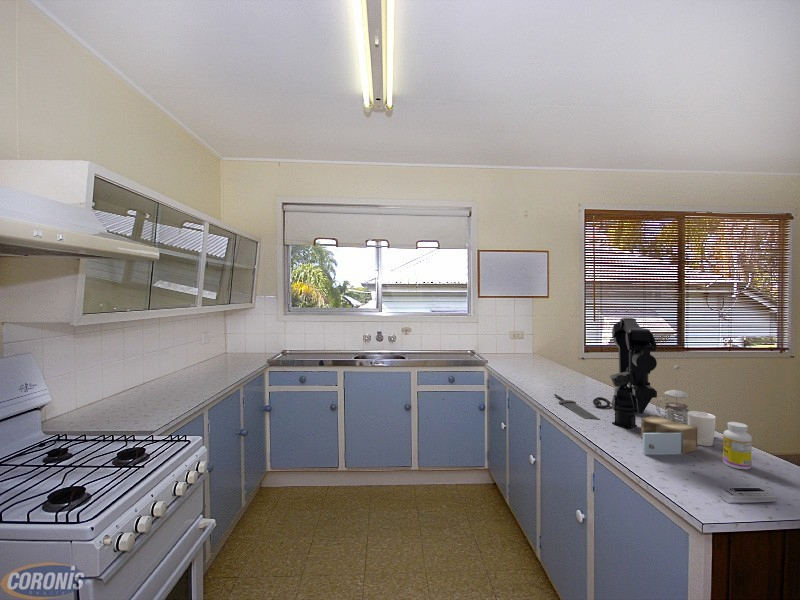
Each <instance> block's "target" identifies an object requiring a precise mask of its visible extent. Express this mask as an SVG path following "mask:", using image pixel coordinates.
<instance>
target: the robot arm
mask: <svg viewBox="0 0 800 600" xmlns="http://www.w3.org/2000/svg"><path fill="white" fill-rule="evenodd" d="M611 336H612V338H613V343H614V344H615V345H616V347H617V349H618V373H615V374H611V375H610V376H609V377H610V381H611V383H612V385H613V387H614V386H615V387H617V388H616V390H615V395H614V394H613V396H612V400H611V403H612V404H611V407H612V408H611V409H612V410H613V411H614V421H613V422H612V423H611V424H612V425H615V426H617V427H621V428H623V429H632V428H636V427H637V426H638V424H636V421H637V420H636V415H635V414H636V413H637V414H644V412H645V411H646V409H647V407H648V405H649V404H650V402H651V400H652V399H653V398H654V399H655V398H658V391H657V390H656V389H655V387H654V388H653V387H652V386H651V382H649V377H650V376H649V375H650V374H651V372H653V370H656V368H657V365H658V362H657V359H656V358H655V357H654V355H652V354H651V352H656V349H657V342H656V338H655V336H654V335H653V333H652V332H651V330H650V329H648V328H645V327H644V328H643V327H641V326H640V325H639V323H637V319H636V318H633V317H622V318H620V319H619V321H618V322H617V323H615V324H613V326H612V331H611ZM616 405H617V406H616ZM635 412H636V413H635Z"/></svg>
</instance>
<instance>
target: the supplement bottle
mask: <svg viewBox="0 0 800 600" xmlns="http://www.w3.org/2000/svg"><path fill="white" fill-rule="evenodd" d="M748 427H749V426H748V425H747V424H745V423H743V422H742V423H741V422H738V421H737V422H736V421H728V422H727V428H728V429H725V430H724V431H723V434H722V435H723V438H722V440H723V441H722V462H723V463H724V464H725V465H726V466H728V467H730V468H732V469H733V468H734V469H738V470H750V469H751V468H752V449H753V448H752V447H753V445H752V444H753V443H752V442H753V436H751V434H749V433H748V430H749V428H748Z"/></svg>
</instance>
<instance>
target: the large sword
mask: <svg viewBox="0 0 800 600" xmlns="http://www.w3.org/2000/svg"><path fill="white" fill-rule="evenodd" d="M553 396H555V397H556V398H557V399H559V401H558V404H559V405H561V406H565V407H566V408H567V409H569V410H571V411H572V412H574V413H575V414H577V415H578V416H579V417H581V418H583V419H584V420H586V419H591V420H592V419H593V420H597V421H598V420H599V421H600V420H601V418H599V417H597V416H596V415H594V414H593V413H591V412H590V411H588V410H586V409H584V408H583V407H581V406H580V405H579V404H577V401H574V400H571V399H570V400H569V399H564V398H562V397H560V396H559V395H558V394H556V393H554V394H553Z"/></svg>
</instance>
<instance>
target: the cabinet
mask: <svg viewBox="0 0 800 600" xmlns="http://www.w3.org/2000/svg"><path fill="white" fill-rule="evenodd" d="M640 423H641V425H640V428H641V429H640V434H641V435H640V440H642V441H643V433H680V432H683V454H682V455H684V454H688V453H690V452H694V451H697V450H698V445H697V427H694V426H691V425H687V424H684V423H681V422H678V421H673V420H670V419H666V417H665V418H664V416H663V417H662V416H659V415H651V416H646V417H642V418H641V421H640Z"/></svg>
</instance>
